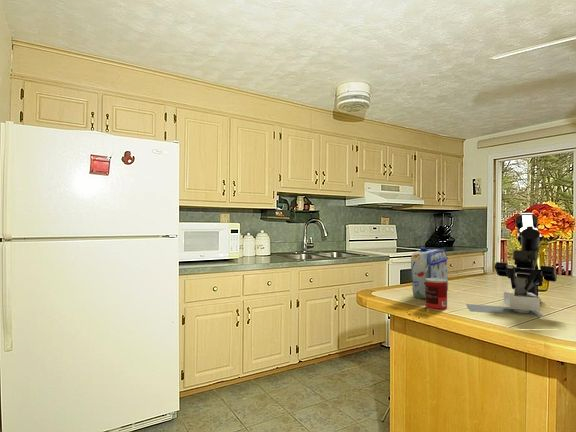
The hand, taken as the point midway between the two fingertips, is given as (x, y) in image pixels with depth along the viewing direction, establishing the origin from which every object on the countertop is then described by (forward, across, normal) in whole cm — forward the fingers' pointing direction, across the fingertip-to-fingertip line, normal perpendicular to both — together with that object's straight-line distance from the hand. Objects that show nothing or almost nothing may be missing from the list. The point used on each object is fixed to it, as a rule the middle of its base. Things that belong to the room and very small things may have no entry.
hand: (519, 289), depth 125 cm
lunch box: (+4, -35, +9) cm, 36 cm away
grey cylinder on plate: (+4, 0, +6) cm, 7 cm away
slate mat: (+7, -5, +5) cm, 10 cm away
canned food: (+17, -23, -5) cm, 30 cm away
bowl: (+5, 0, +7) cm, 8 cm away
